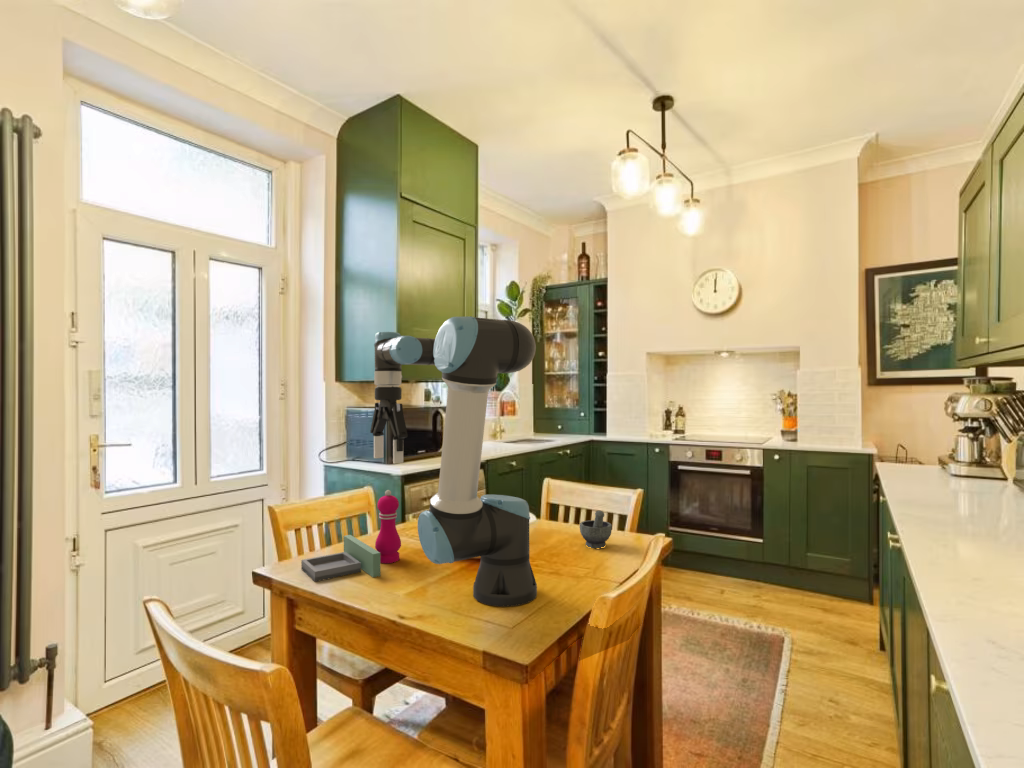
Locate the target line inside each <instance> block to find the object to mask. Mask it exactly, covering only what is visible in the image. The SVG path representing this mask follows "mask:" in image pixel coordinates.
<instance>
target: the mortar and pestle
mask: <svg viewBox="0 0 1024 768" xmlns="http://www.w3.org/2000/svg"><path fill="white" fill-rule="evenodd" d="M594 515H595V517H594V519H593V520H592V519H591V520H584V521H582V522H580V523H579V532H580V535H581V536H582V538H583V539H584V540H585V546H586V545H587V546H588V547H591V548H601V547H604V546H605V545H606V542H607V541H608V540H609V539H610V537H611V534H612V528H613V524H611V523H610V522H608V521H606V520H604V517H605V513H604V511H603V510H596V511H595V512H594ZM606 546H607V545H606Z"/></svg>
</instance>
